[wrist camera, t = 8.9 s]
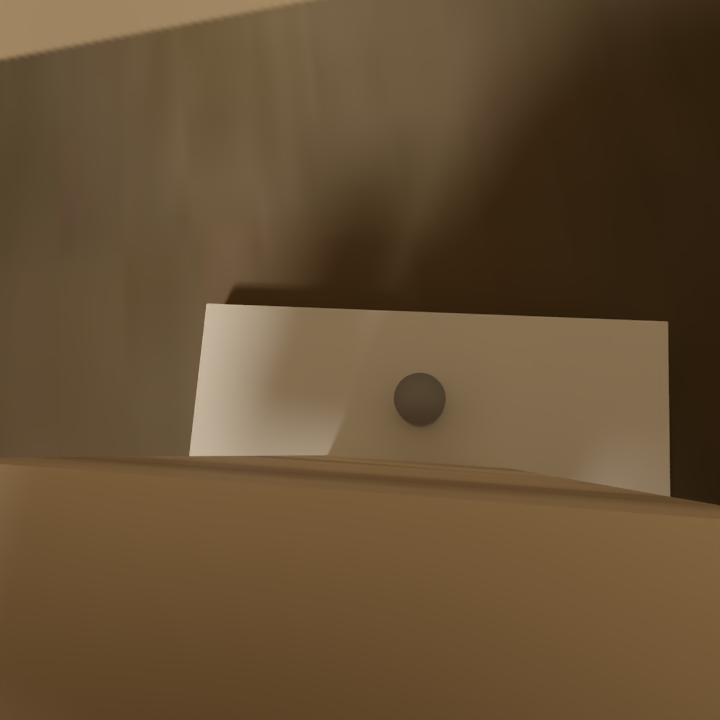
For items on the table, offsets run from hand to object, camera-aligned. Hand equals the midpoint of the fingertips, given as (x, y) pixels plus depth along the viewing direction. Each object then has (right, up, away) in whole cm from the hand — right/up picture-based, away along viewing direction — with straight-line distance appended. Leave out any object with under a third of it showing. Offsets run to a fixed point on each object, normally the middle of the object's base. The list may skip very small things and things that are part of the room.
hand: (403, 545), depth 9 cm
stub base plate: (+1, -3, +9) cm, 9 cm away
